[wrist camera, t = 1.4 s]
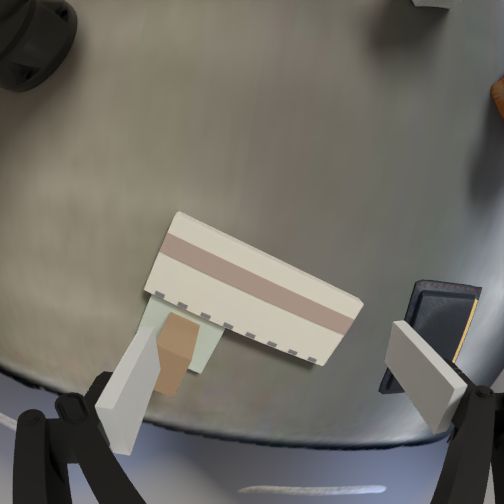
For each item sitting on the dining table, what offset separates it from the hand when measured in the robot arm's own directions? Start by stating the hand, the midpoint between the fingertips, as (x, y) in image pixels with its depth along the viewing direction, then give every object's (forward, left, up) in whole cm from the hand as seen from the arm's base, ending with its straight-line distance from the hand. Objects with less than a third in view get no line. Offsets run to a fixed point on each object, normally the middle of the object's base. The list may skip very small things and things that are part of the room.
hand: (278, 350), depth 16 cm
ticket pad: (+2, -5, -22) cm, 22 cm away
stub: (-4, -14, -22) cm, 26 cm away
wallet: (+32, -1, -23) cm, 39 cm away
